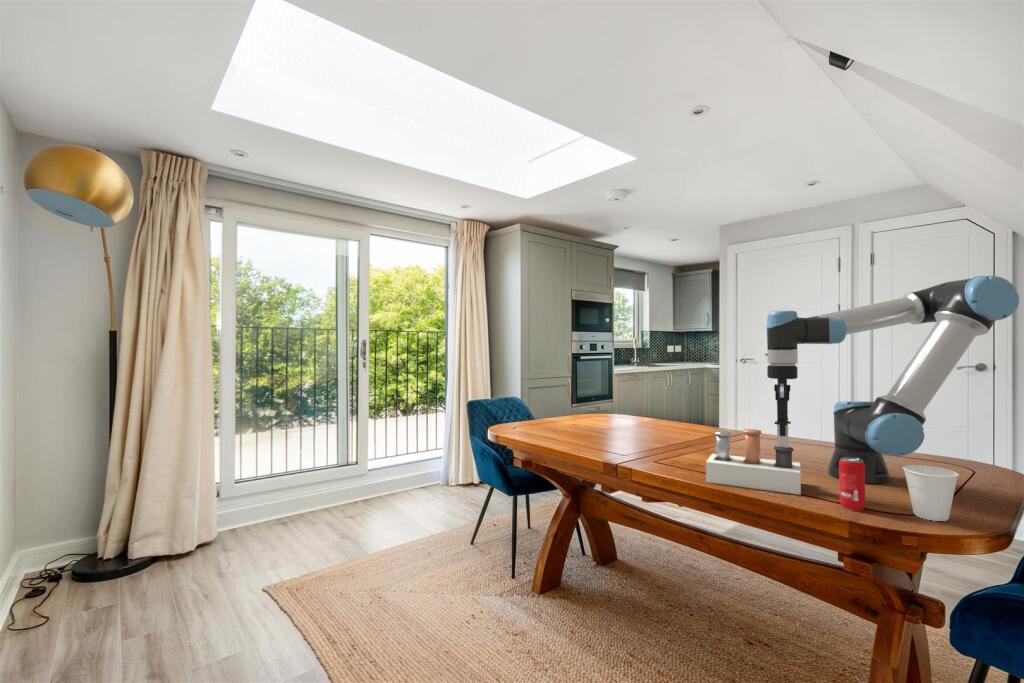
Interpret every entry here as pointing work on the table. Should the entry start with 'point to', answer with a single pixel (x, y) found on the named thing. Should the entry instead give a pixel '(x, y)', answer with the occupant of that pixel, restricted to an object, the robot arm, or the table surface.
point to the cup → (931, 491)
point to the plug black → (783, 457)
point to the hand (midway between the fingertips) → (782, 446)
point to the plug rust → (752, 446)
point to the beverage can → (852, 483)
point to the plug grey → (723, 445)
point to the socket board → (754, 474)
